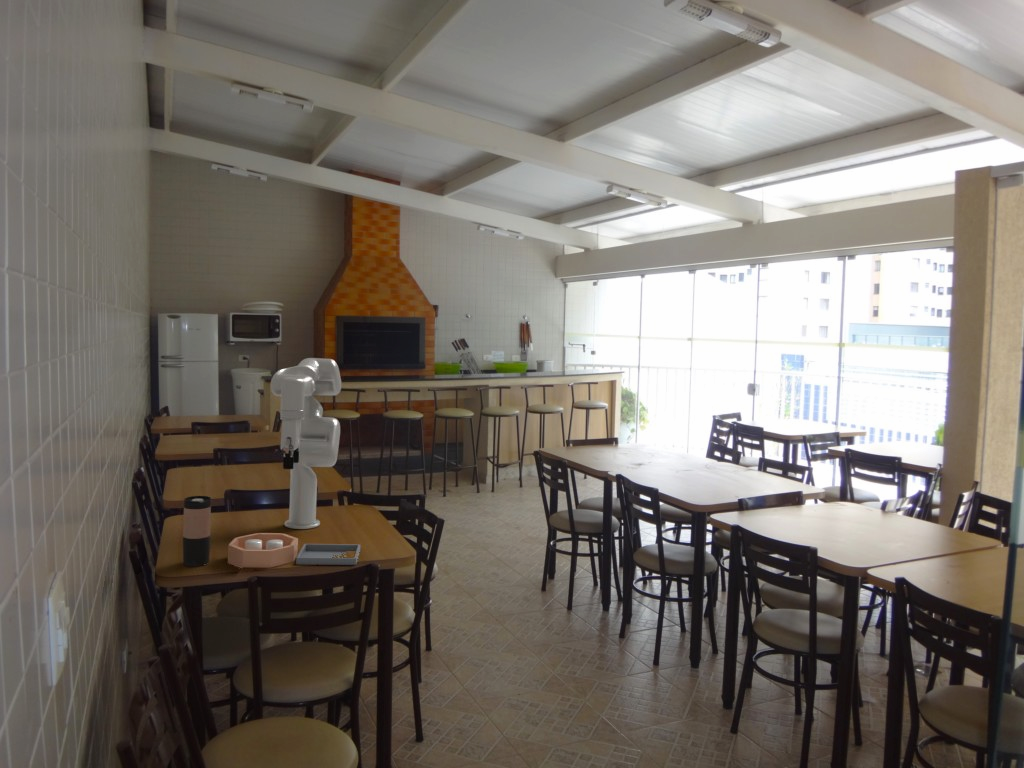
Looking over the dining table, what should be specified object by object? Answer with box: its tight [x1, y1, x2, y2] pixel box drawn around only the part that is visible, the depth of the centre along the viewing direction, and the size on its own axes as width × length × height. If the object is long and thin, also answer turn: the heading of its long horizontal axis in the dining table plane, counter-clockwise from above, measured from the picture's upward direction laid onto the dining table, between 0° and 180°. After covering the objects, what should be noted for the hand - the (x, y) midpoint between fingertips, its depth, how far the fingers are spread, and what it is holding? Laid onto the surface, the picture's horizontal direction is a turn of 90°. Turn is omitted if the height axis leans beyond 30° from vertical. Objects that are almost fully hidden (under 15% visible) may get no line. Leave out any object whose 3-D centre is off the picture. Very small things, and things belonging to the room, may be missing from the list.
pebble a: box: [245, 539, 262, 550], centre depth 225 cm, size 5×5×5 cm
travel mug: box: [182, 495, 212, 567], centre depth 218 cm, size 8×8×20 cm
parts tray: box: [295, 543, 361, 566], centre depth 229 cm, size 15×18×3 cm
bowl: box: [227, 532, 299, 570], centre depth 225 cm, size 20×20×6 cm
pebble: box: [266, 540, 283, 550], centre depth 225 cm, size 5×5×5 cm
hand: (291, 465), depth 239 cm, fingers open, 9 cm apart
